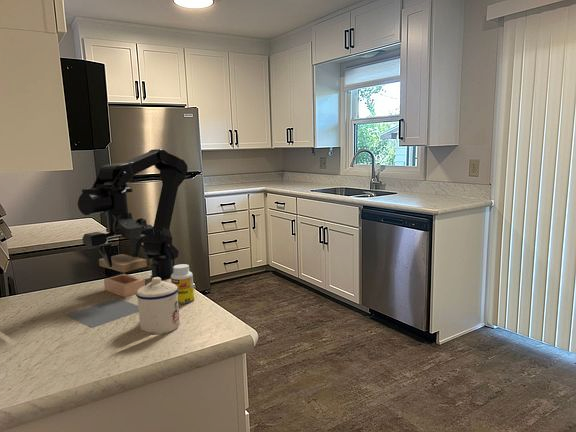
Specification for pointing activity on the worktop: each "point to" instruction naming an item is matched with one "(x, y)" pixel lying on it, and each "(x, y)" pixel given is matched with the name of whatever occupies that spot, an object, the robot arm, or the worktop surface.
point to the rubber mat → (104, 312)
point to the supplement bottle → (183, 283)
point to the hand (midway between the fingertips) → (122, 263)
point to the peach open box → (123, 284)
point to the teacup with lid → (158, 307)
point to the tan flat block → (124, 263)
